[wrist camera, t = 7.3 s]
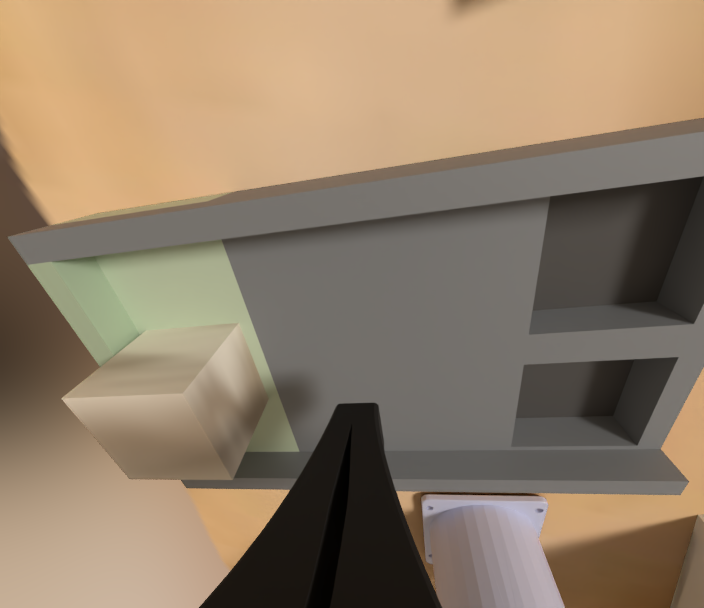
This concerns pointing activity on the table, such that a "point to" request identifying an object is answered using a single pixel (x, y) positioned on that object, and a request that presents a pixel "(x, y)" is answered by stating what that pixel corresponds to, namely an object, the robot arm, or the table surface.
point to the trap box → (433, 307)
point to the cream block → (175, 403)
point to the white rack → (692, 572)
